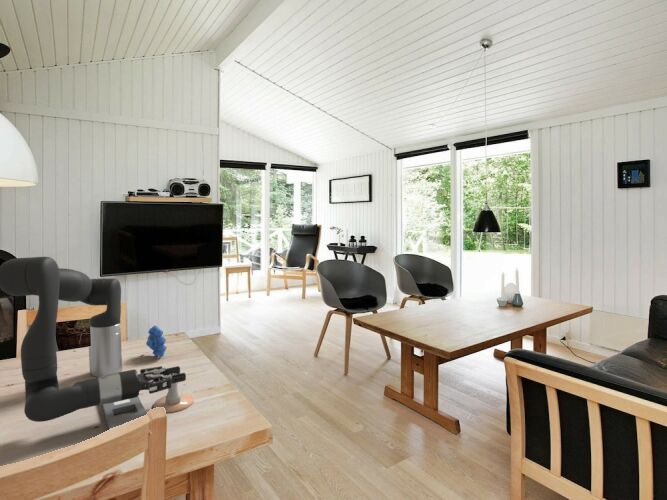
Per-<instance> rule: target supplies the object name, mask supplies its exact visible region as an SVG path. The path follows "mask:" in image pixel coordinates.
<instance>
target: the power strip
mask: <svg viewBox="0 0 667 500" xmlns="http://www.w3.org/2000/svg"><path fill="white" fill-rule="evenodd" d="M101 406H102V410H103V413H104V417H105V421H106V423H107V428H108V429H110V428H113V427H116V426H119V425H122V424H124V423H126V422H129V421H131V420H134V419H136V418H139V417H141V416H144V415H146V414H147V415H148V413H147V410H146V409H145V407H144V405H143V403H142V402H141V399H140V397H139V396H138V397H135V398H131V399H127V400H122V401H118V402H114V403H109V404H101ZM132 410H135V412H131V413H128V414H125V415H122V416H117V417H115V415H116V414H121V413H125V412H130V411H132Z"/></svg>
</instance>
